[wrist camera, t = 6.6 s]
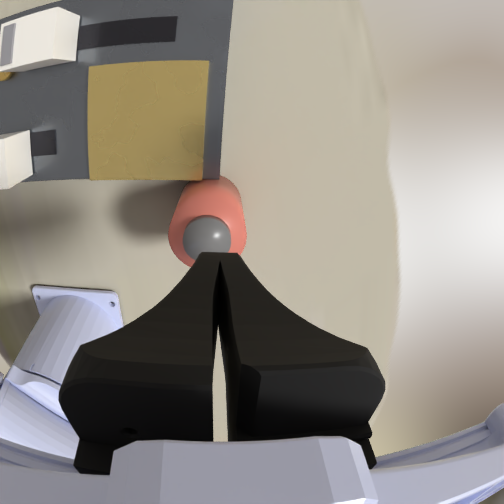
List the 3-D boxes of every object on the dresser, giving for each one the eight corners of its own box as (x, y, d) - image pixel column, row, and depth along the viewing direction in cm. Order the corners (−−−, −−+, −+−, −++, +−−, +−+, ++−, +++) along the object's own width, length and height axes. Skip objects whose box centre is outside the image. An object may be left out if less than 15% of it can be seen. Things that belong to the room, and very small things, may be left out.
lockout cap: (239, 233, 22) (244, 277, 17) (179, 231, 22) (168, 275, 17) (243, 175, 20) (250, 205, 15) (180, 173, 20) (165, 202, 15)
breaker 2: (75, 61, 14) (50, 58, 11) (23, 71, 14) (-6, 72, 11) (80, 15, 13) (56, 5, 10) (27, 28, 12) (-1, 23, 10)
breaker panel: (219, 174, 20) (219, 182, 18) (7, 178, 18) (-6, 186, 17) (234, -10, 14) (235, -19, 13) (7, 21, 13) (-7, 19, 11)
